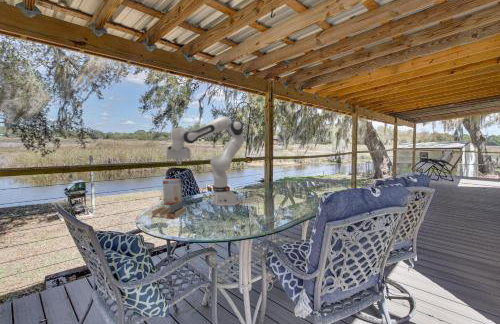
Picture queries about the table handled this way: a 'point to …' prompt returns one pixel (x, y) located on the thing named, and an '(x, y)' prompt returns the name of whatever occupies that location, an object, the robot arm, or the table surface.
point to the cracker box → (172, 191)
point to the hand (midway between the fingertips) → (179, 164)
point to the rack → (168, 213)
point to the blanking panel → (176, 207)
